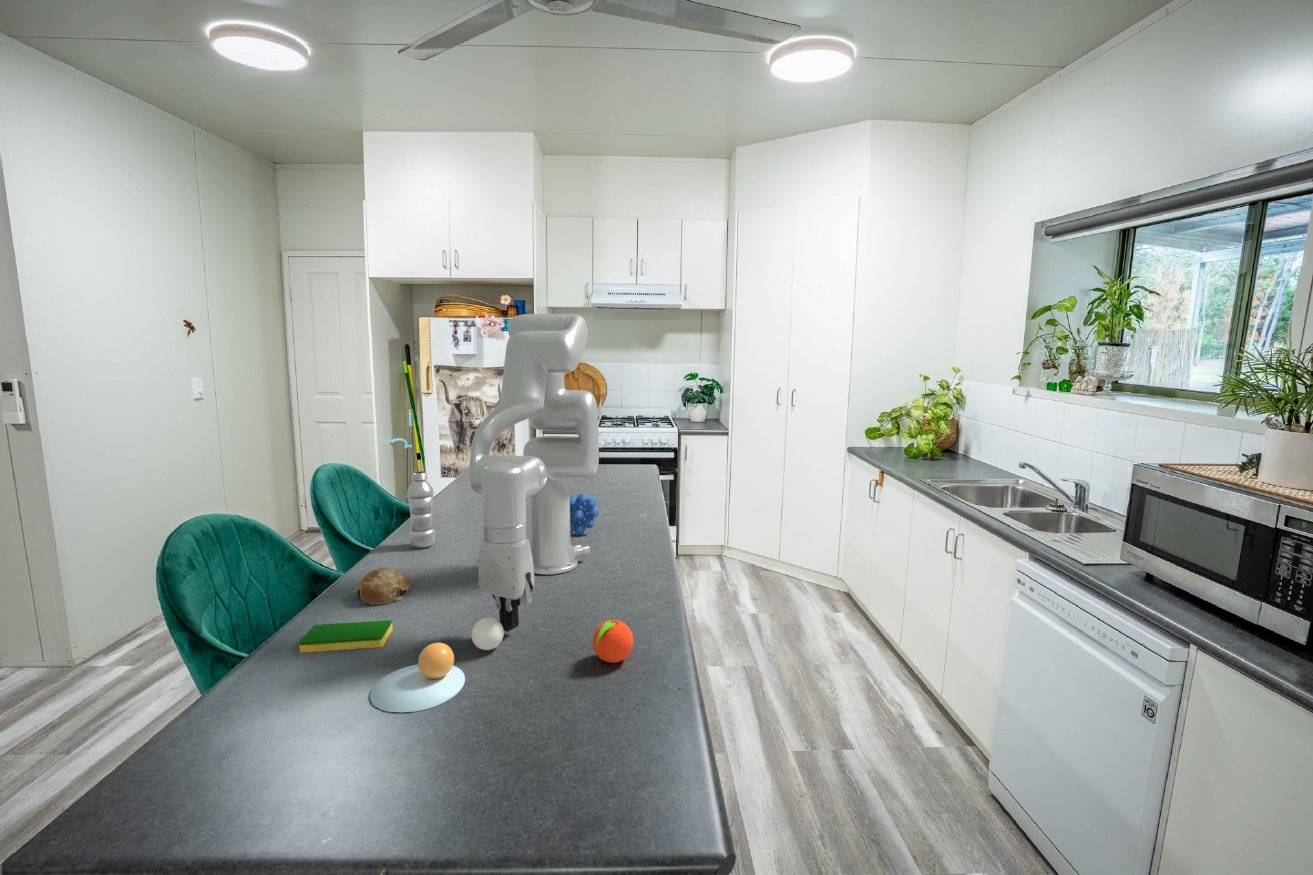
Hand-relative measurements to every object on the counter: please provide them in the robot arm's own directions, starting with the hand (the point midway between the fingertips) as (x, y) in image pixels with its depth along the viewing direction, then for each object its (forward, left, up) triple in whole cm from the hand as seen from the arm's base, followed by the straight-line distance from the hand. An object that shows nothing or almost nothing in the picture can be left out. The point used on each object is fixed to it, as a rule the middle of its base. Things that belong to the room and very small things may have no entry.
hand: (509, 627), depth 114 cm
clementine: (-13, +18, -2) cm, 22 cm away
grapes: (-34, -50, -2) cm, 61 cm away
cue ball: (+5, +3, +1) cm, 6 cm away
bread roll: (+19, -31, -2) cm, 36 cm away
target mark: (+17, +10, -2) cm, 20 cm away
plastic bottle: (+6, -60, -2) cm, 61 cm away
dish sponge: (+26, -12, -2) cm, 29 cm away
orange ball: (+14, +8, +1) cm, 16 cm away
